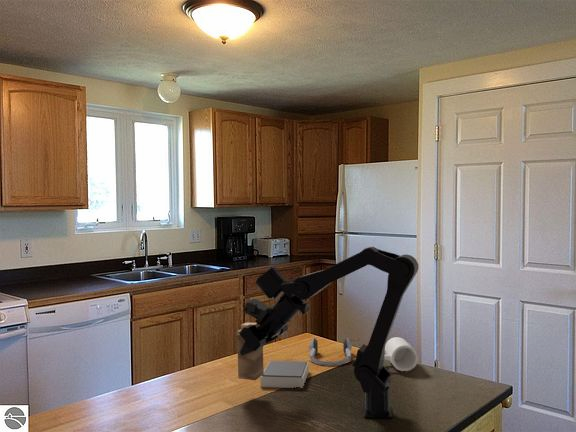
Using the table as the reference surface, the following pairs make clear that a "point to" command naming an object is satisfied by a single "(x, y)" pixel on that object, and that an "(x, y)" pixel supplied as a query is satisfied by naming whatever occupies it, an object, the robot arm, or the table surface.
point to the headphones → (347, 350)
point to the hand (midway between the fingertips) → (245, 351)
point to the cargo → (248, 324)
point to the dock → (285, 374)
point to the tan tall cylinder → (249, 362)
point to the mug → (400, 354)
